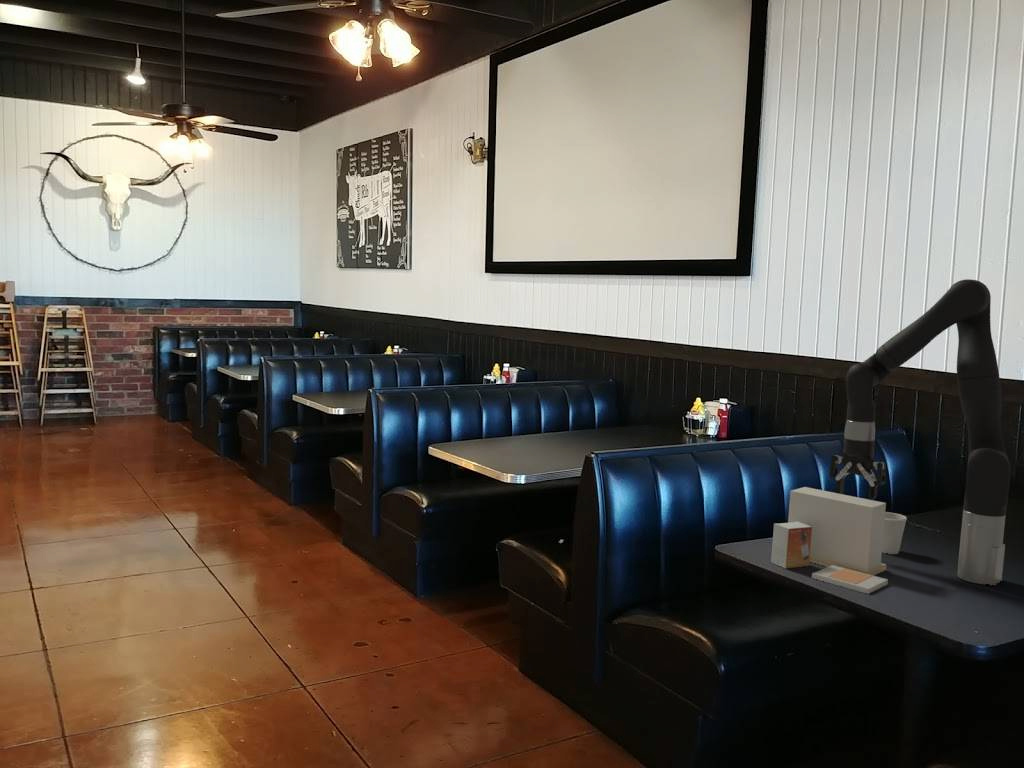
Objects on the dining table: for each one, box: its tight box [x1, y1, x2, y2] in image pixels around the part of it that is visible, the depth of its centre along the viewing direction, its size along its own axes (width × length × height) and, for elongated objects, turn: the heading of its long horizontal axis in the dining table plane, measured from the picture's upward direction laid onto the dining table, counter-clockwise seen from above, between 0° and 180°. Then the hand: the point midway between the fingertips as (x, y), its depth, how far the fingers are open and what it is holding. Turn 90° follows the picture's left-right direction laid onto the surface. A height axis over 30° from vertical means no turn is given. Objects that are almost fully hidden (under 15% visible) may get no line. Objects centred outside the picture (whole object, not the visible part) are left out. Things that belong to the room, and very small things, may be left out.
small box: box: [770, 522, 812, 569], centre depth 221 cm, size 8×6×10 cm
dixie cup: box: [882, 511, 908, 555], centre depth 237 cm, size 8×8×10 cm
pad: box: [811, 565, 889, 595], centre depth 210 cm, size 14×11×1 cm
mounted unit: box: [787, 486, 887, 576], centre depth 224 cm, size 24×10×18 cm, turn 44°
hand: (855, 496), depth 231 cm, fingers open, 8 cm apart
